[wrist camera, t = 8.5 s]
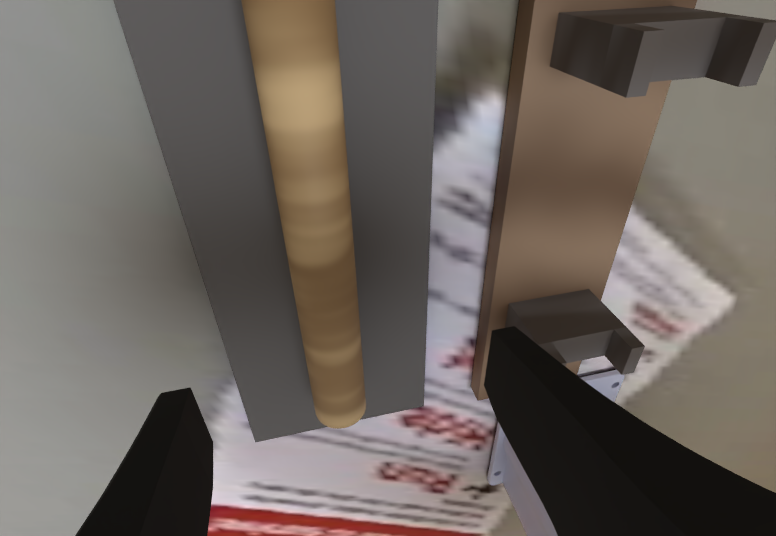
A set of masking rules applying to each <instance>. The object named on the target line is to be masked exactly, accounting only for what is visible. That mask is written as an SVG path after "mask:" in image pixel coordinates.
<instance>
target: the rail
mask: <svg viewBox="0 0 776 536" xmlns="http://www.w3.org/2000/svg"><path fill="white" fill-rule="evenodd" d="M241 2H242V7H243V13H244V19H245V24H246V30H247V35H248V41H249V46H250V52H251V57H252V63H253V69H254V74H255V80H256V85H257V91H258V96H259V102H260V107H261V113H262V119H263V124H264V130H265V135H266V141H267V146H268V152H269V157H270V163H271V169H272V174H273V180H274V185H275V191H276V196H277V202H278V207H279V213H280V218H281V224H282V230H283V235H284V241H285V246H286V252H287V257H288V263H289V268H290V274H291V280H292V285H293V291H294V296H295V302H296V307H297V313H298V318H299V324H300V330H301V335H302V341H303V346H304V352H305V357H306V363H307V368H308V374H309V380H310V385H311V391H312V396H313V402H314V407H315V413H316V416H317V418H318V420H319V421H320V422H321V423H322V424H324V425H325V426H328V427H331V428H346V427H349V426H351V425H353V424H355V423H356V422H358V421H359V420H360V419H361V418H362V416H363V415H364V413H365V410H366V398H365V385H364V372H363V359H362V346H361V333H360V320H359V307H358V294H357V281H356V268H355V255H354V242H353V229H352V216H351V203H350V190H349V177H348V164H347V151H346V138H345V125H344V112H343V99H342V86H341V73H340V60H339V47H338V34H337V21H336V8H335V0H241Z"/></svg>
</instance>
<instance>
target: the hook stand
mask: <svg viewBox="0 0 776 536" xmlns="http://www.w3.org/2000/svg"><path fill="white" fill-rule="evenodd" d="M696 2H697V0H519V8H518V16H517V24H516V32H515V40H514V47H513V55H512V63H511V71H510V79H509V87H508V95H507V103H506V111H505V119H504V127H503V135H502V143H501V151H500V159H499V167H498V175H497V183H496V191H495V199H494V207H493V215H492V223H491V231H490V239H489V247H488V255H487V263H486V271H485V278H484V286H483V294H482V302H481V310H480V318H479V326H478V334H477V342H476V350H475V358H474V366H473V374H472V382H471V388H472V390H473V392H474V394H475V396H476V398H477V400H483V399H488V398H489V397H488V395H487V392H486V389H485V387H484V380H485V374H486V367H487V360H488V354H489V347H490V340H491V333H492V330H496V329H502V328H507V327H512V326H515V327H516V328H518V329H519V330H520V331H521V332H523V333H524V334H525V335H526V336H528V337H529V338H530V339H531V340H533V341H534V342H535V343H536V344H538V345H539V346H540V347H541V348H543V349H544V350H545V351H546V352H548V353H549V354H550V355H551V356H553V357H554V358H555V359H556V360H558V361H559V362H560V363H562V364H563V365H564V366H565V367H567V368H568V369H569V370H571V371H572V372H573V373H574V374H576V375H577V373H578V370H579V366H580V363H581V360H585V359H590V358H595V357H599V356H604V355H605V356H606V357H607V359H608V360H609V361H610V362H611V363H612V364H613V366H614V367H615V368H616V369H617V370H618V371H619V373H620V374H621V375H624V374H629V373H633V372H634V371H635V368H636V366H637V363H638V361H639V359H640V356H641V354H642V352H643V349H644V347H645V346H644V345H643V344H642V343H641V342H640V341H639V340H638V339H637V338H636V337H635V336H634V335H633V334H632V333H631V332H630V330H629V329H628V328H627V327H626V326H625V325H624V324H623V323H622V322H621V321H620V320H619V319H618V318H617V317H616V316H615V315H614V314H613V313H612V312H611V311H610V310H609V309H608V308H607V307H606V306H605V305H604V304H603V303H602V302H601V298H602V295H603V292H604V289H605V285H606V282H607V279H608V276H609V273H610V270H611V267H612V264H613V261H614V257H615V254H616V251H617V248H618V245H619V242H620V239H621V236H622V233H623V229H624V226H625V223H626V220H627V217H628V214H629V211H630V208H631V205H632V201H633V198H634V195H635V192H636V189H637V186H638V183H639V180H640V176H641V173H642V170H643V167H644V164H645V161H646V158H647V155H648V152H649V148H650V145H651V142H652V139H653V136H654V133H655V130H656V127H657V124H658V120H659V117H660V114H661V111H662V108H663V105H664V102H665V99H666V95H667V92H668V89H669V86H670V83H671V80H678V79H689V78H700V77H707V78H710V79H714V80H717V81H720V82H724V83H727V84H731V85H734V86H738V87H741V86H751V85H756V84H757V82H758V79H759V77H760V74H761V72H762V70H763V67H764V65H765V63H766V60H767V58H768V56H769V53H770V51H771V49H772V46H773V44H774V42H775V39H776V21H775V20H768V19H761V18H754V17H747V16H740V15H733V14H726V13H719V12H712V11H705V10H698V9H694V8H695V5H696Z"/></svg>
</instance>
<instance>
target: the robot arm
mask: <svg viewBox="0 0 776 536" xmlns="http://www.w3.org/2000/svg"><path fill="white" fill-rule="evenodd" d="M624 376H625V375H621V374H620V373H619V371H618V370H613V371H608V372H603V373H599V374H594V375H590V376H585V377H581V378H580V377H578V376H577V375H576V374H574V373H573V372H572V371H571V370H569V369H568V368H567V367H565V366H564V365H563V364H562V363H560V362H559V361H558V360H556V359H555V358H554V357H553V356H551V355H550V354H549V353H548V352H546V351H545V350H544V349H543V348H541V347H540V346H539V345H538V344H536V343H535V342H534V341H533V340H531V339H530V338H529V337H528V336H526V335H525V334H524V333H523V332H521V331H520V330H519V329H518V328H516V327H515V326H512V327H507V328H502V329H496V330H492V333H491V340H490V347H489V354H488V360H487V367H486V374H485V380H484V387H485V389H486V392H487V395H488V397H489V400H490V403H491V405H492V408H493V410H494V412H495V415H496V417H497V420H498V424H497V430H496V435H495V440H494V445H493V451H492V456H491V461H490V466H489V472H488V477H487V480H488V482H489V484H490V485H497V484H501V483H503V484H504V486H505V489H506V491H507V493H508V495H509V497H510V499H511V501H512V504H513V506H514V508H515V510H516V512H517V514H518V517H519V519H520V521H521V523H522V525H523V527H524V530H525V532H526V534H527V536H776V493H774V492H772V491H770V490H768V489H766V488H763V487H761V486H759V485H757V484H755V483H753V482H751V481H749V480H747V479H745V478H743V477H741V476H739V475H737V474H735V473H733V472H731V471H729V470H727V469H725V468H723V467H721V466H720V465H718V464H716V463H714V462H712V461H710V460H708V459H706V458H704V457H702V456H701V455H699V454H697V453H695V452H693V451H692V450H690V449H688V448H686V447H684V446H683V445H681V444H679V443H678V442H676V441H674V440H672V439H671V438H669V437H667V436H666V435H664V434H662V433H661V432H659V431H657V430H656V429H654V428H652V427H651V426H649V425H648V424H646V423H644V422H643V421H641V420H640V419H638V418H637V417H635V416H634V415H632V414H631V413H629V412H628V411H626V410H625V409H623V408H622V407H620V406H619V405H617V404H616V403H614V401H615V399H616V397H617V394H618V392H619V389H620V387H621V384H622V382H623V380H624ZM212 490H213V441H212V439H211V436H210V434H209V431H208V429H207V426H206V424H205V422H204V419H203V417H202V414H201V412H200V409H199V407H198V405H197V402H196V400H195V397H194V395H193V392H192V390H191V388H185V389H180V390H175V391H170V392H164V393H161V394H160V396H159V397H158V398H157V400H156V402H155V404H154V406H153V407H152V409H151V411H150V413H149V415H148V417H147V419H146V420H145V422H144V424H143V426H142V428H141V430H140V431H139V433H138V435H137V437H136V439H135V440H134V442H133V444H132V446H131V447H130V449H129V451H128V453H127V454H126V456H125V458H124V459H123V461H122V463H121V464H120V466H119V468H118V469H117V471H116V473H115V474H114V476H113V478H112V479H111V481H110V483H109V484H108V486H107V488H106V489H105V491H104V493H103V494H102V496H101V497H100V499H99V501H98V502H97V504H96V505H95V507H94V508H93V510H92V511H91V513H90V514H89V516H88V517H87V519H86V520H85V522H84V523H83V525H82V526H81V528H80V529H79V531H78V532H77V534H76V535H75V536H207V533H208V525H209V516H210V508H211V499H212Z"/></svg>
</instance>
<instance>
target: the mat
mask: <svg viewBox="0 0 776 536" xmlns="http://www.w3.org/2000/svg"><path fill="white" fill-rule="evenodd" d="M114 3H115V6H116V10H117V13H118V16H119V19H120V22H121V25H122V28H123V31H124V34H125V38H126V41H127V44H128V47H129V50H130V53H131V56H132V59H133V62H134V66H135V69H136V72H137V75H138V78H139V81H140V84H141V87H142V90H143V94H144V97H145V100H146V103H147V106H148V109H149V112H150V115H151V119H152V122H153V125H154V128H155V131H156V134H157V137H158V140H159V143H160V147H161V150H162V153H163V156H164V159H165V162H166V165H167V168H168V171H169V175H170V178H171V181H172V184H173V187H174V190H175V193H176V196H177V199H178V203H179V206H180V209H181V212H182V215H183V218H184V221H185V224H186V227H187V231H188V234H189V237H190V240H191V243H192V246H193V249H194V252H195V256H196V259H197V262H198V265H199V268H200V271H201V274H202V277H203V280H204V284H205V287H206V290H207V293H208V296H209V299H210V302H211V305H212V308H213V312H214V315H215V318H216V321H217V324H218V327H219V330H220V333H221V336H222V340H223V343H224V346H225V349H226V352H227V355H228V358H229V361H230V365H231V368H232V371H233V374H234V377H235V380H236V383H237V386H238V389H239V393H240V396H241V399H242V402H243V405H244V408H245V411H246V414H247V417H248V421H249V424H250V427H251V430H252V433H253V436H254V439H255V442H259V441H264V440H268V439H273V438H278V437H282V436H287V435H291V434H296V433H301V432H305V431H310V430H315V429H319V428H324V427H328V426H325V425H324V424H322V423H321V422H320V421H319V420H318V418H317V416H316V413H315V407H314V402H313V396H312V391H311V385H310V380H309V374H308V368H307V363H306V357H305V352H304V346H303V341H302V335H301V330H300V324H299V318H298V313H297V307H296V302H295V296H294V291H293V285H292V280H291V274H290V268H289V263H288V257H287V252H286V246H285V241H284V235H283V230H282V224H281V218H280V213H279V207H278V202H277V196H276V191H275V185H274V180H273V174H272V169H271V163H270V157H269V152H268V146H267V141H266V135H265V130H264V124H263V119H262V113H261V107H260V102H259V96H258V91H257V85H256V80H255V74H254V69H253V63H252V57H251V52H250V46H249V41H248V35H247V30H246V24H245V19H244V13H243V7H242V2H241V0H114ZM335 8H336V21H337V34H338V47H339V60H340V73H341V86H342V99H343V112H344V125H345V138H346V151H347V164H348V177H349V190H350V203H351V216H352V229H353V242H354V255H355V268H356V281H357V294H358V307H359V320H360V333H361V346H362V359H363V372H364V385H365V398H366V410H365V413H364V415H363V416H362V418H361V419H366V418H370V417H375V416H380V415H384V414H389V413H394V412H398V411H403V410H408V409H412V408H417V407H421V406H424V381H425V353H426V325H427V298H428V270H429V243H430V215H431V188H432V160H433V132H434V105H435V77H436V50H437V22H438V0H335ZM361 419H360V420H361Z"/></svg>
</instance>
